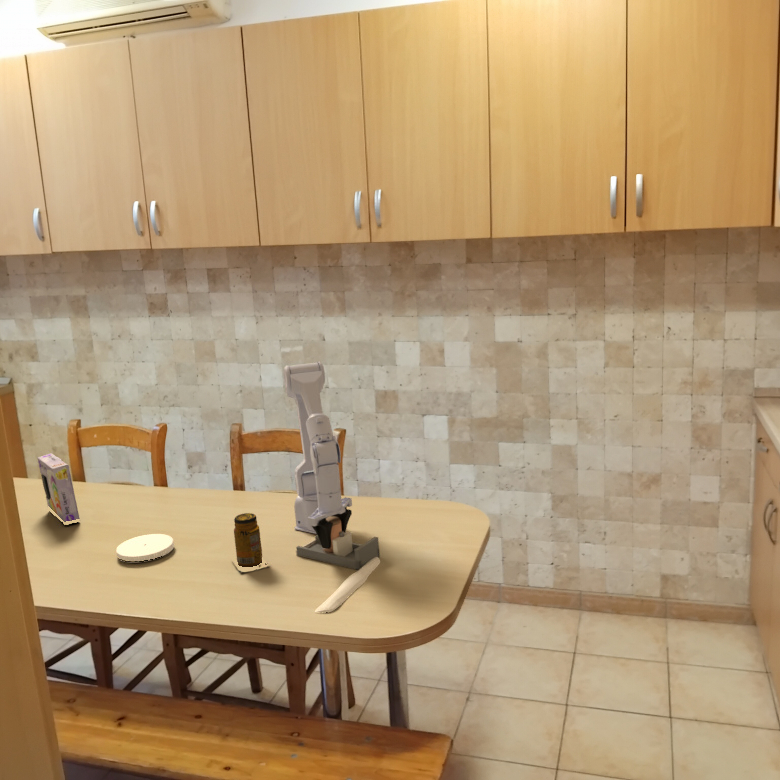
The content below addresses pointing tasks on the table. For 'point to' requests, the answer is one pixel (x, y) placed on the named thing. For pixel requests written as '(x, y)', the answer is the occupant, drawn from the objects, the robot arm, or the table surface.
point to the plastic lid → (145, 547)
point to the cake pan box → (58, 487)
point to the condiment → (247, 540)
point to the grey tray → (352, 560)
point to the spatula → (348, 586)
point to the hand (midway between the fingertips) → (333, 543)
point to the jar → (333, 531)
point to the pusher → (343, 544)
